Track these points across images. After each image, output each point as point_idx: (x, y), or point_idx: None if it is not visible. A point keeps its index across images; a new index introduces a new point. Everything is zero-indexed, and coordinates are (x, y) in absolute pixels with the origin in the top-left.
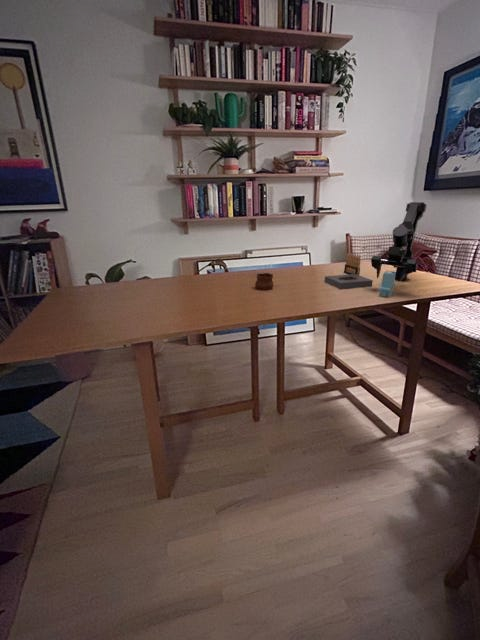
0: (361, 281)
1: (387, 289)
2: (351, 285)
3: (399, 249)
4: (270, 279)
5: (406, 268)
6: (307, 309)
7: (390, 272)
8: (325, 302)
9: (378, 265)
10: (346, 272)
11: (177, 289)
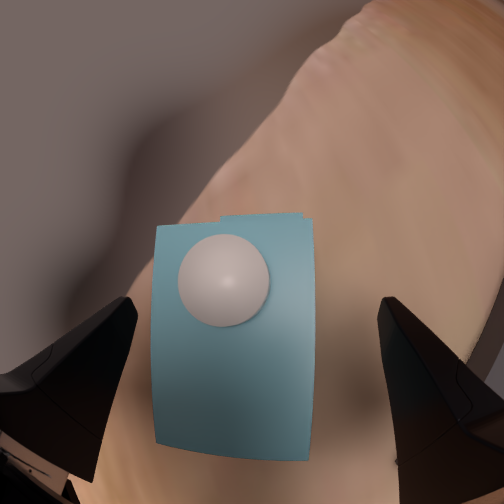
0: None
1: (235, 215)
2: (500, 316)
3: None
4: None
5: (4, 380)
6: (398, 8)
7: (194, 246)
8: (418, 49)
9: (491, 423)
10: None
11: None
